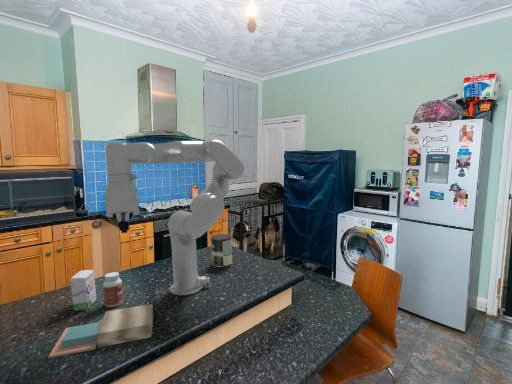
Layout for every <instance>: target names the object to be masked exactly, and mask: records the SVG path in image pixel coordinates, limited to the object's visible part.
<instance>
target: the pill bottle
mask: <svg viewBox="0 0 512 384" xmlns="http://www.w3.org/2000/svg"><path fill="white" fill-rule="evenodd" d="M102 287H103V298H104V301H103V302H104V306H105V307H106V308H114V307H117V306H120V305H121V304H123V303H124V292H123V280H122V278H120V272H118V271H117V272H116V271H114V272H108V273H106V274H105V275H104V282H103V284H102Z"/></svg>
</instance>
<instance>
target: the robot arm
mask: <svg viewBox="0 0 512 384" xmlns="http://www.w3.org/2000/svg"><path fill="white" fill-rule="evenodd" d="M105 156H106V166H107V167H106V169H107V178H108V179H107V180H108V181H107V182H108V183H107V184H106V185H105V193H104V194H105V198H104V199H105V211H106V212H105V217H108V218H113V219H114V220H116V221H117V222H118V229H119V231H121V234H127V233H128V231H129V230H130V221H129V220H131V219H132V218H133V217H135V216H138V215H140V213H141V211H140V208H139V207H140V203H139V194H138V187H137V185H136V182H134V181H135V180H138V176H137V175H135V174H133V167H132V165H133V164H134V165H145V164H146V165H148V164H149V165H151V164H175V165H176V164H191V163H208V162H209V163H210V162H214V164H213V165H212V166H213V167H212V169H211V170H212V178H211V181H210V184H209V185H207V186H206V187H205V188H204V189H203V190H202V191H201V192H199V194H197V195H196V196H195V197H194V198H193V199H192V200H191V203H190V206H189V207H190V208H189V209H190V211H191V212H190V211H185V210H177V211H175V212H173V213H172V214H171V215H170V217H169V218H168V224H167V226H168V232H169V238H170V245H171V255H172V256H171V258H172V259H171V260H172V274H173V284H171V286H170V287H169V288H170V289H169V291H170V293H171V294H172V295H175V296H189V295H193V294H196V293H198V292H199V291H201V290H202V289H203V284H206V283H210V281H211V279H210V277H209V276H208V277H207V276H206V275H204V276H200V275H199V273H198V269H199V268H198V254H197V241H196V239H199V238H200V237H202V236H203V235H204V234H205V233H207V231H209V230H210V229H211V227H212V226H213V225H215V224H216V223H217V221H218V220H220V218H221V217H222V216H223V214H224V211H225V202H224V199H225V197H226V196H227V195H228V193H229V189H230V180H238V179H240V178H241V177H242V176H243V175H244V174H245V166H244V163H243V161H242V160H241V159H240V158H239V157H238V156H237V155H236V154H235V152H233V151H232V150H231V149H230V148H229V147H228V146H227V145H226V144H225V143H224V142H222V141H220V140H218V139H211V140H196V141H195V140H192V141H191V140H189V141H188V140H175V141H169V142H163V143H149V142H145V141H141V142H140V141H139V142H132V143H131V142H130V143H129V142H128V143H127V142H118V141H117V142H108V143H107V144H106V145H105ZM122 213H123V214H124V213H125V214H124V217H125V218H124V219H123V215H122Z"/></svg>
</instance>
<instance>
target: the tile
mask: <svg viewBox="0 0 512 384" xmlns="http://www.w3.org/2000/svg"><path fill="white" fill-rule="evenodd" d="M101 322H102V321H99V322H98V323H97V322H92V323H93V324H92V323H88V324H87V323H86V324H87V325H86V324H82V326H80V325H75V326H76V327H74V326H70V328H69V327H68V328H69V329H68V331H67V333H66V335H65V336H64V338H63V340H62V348H65V347H70V346H76V345H81V344H86V343H91V342H96V341H97V332H98V330H99V327H100V325H101Z"/></svg>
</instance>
